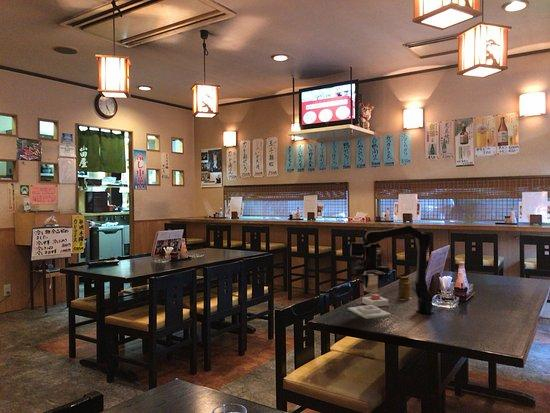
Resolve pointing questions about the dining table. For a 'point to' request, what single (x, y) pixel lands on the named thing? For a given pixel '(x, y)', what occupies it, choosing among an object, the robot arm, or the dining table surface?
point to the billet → (372, 283)
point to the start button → (375, 297)
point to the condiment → (404, 288)
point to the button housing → (375, 301)
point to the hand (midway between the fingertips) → (370, 287)
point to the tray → (369, 311)
